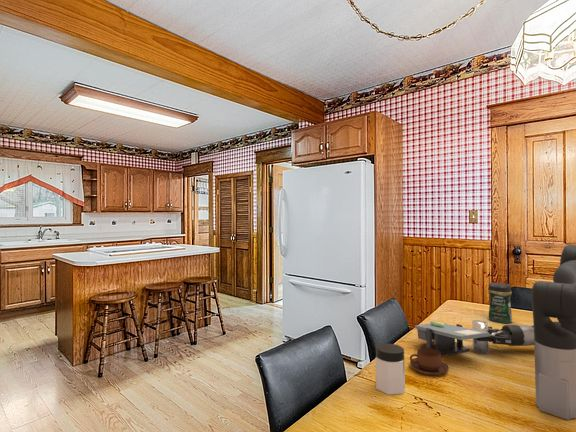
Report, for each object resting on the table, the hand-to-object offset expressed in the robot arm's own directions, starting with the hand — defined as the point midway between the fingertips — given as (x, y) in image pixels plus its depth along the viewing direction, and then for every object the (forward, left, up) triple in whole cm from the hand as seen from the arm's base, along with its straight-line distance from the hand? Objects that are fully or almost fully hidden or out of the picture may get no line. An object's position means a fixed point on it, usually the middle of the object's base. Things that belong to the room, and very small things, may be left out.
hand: (473, 335), depth 130 cm
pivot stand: (-7, +8, -6) cm, 12 cm away
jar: (-48, +6, -6) cm, 49 cm away
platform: (-8, +5, -2) cm, 10 cm away
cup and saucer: (-27, +4, -6) cm, 28 cm away
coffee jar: (+49, +6, -6) cm, 50 cm away
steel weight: (+2, -2, -6) cm, 7 cm away
